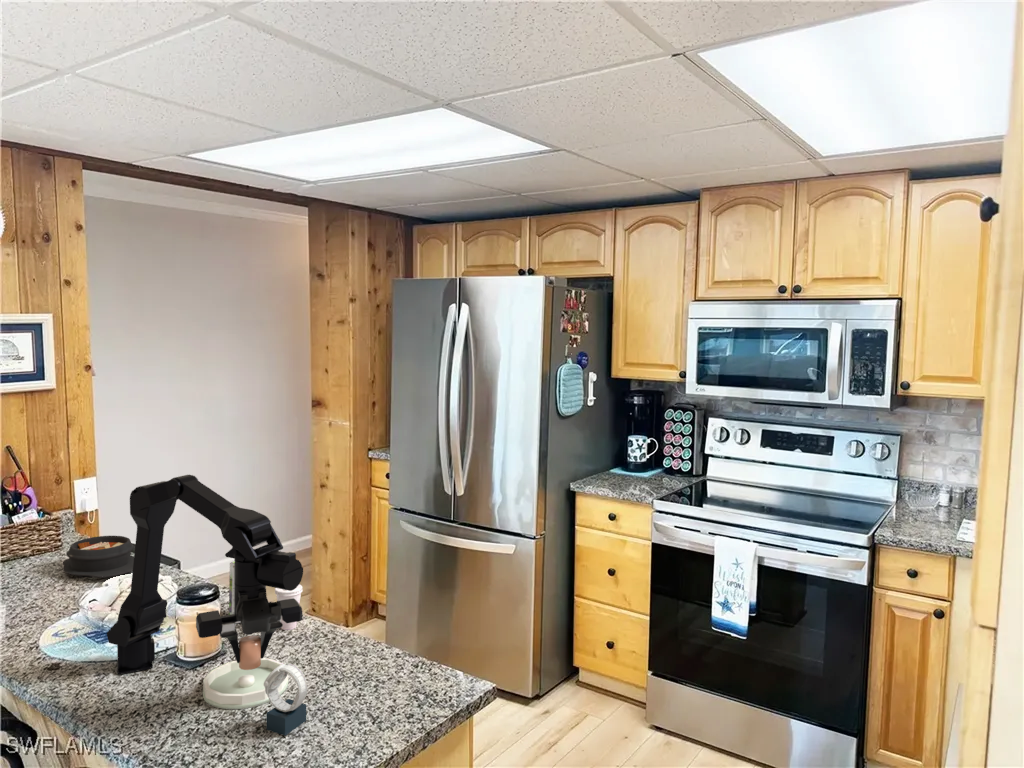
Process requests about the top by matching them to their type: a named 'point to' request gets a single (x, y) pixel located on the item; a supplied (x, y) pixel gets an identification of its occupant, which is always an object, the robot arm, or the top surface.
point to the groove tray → (239, 685)
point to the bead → (250, 652)
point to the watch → (288, 711)
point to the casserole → (100, 557)
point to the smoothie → (287, 594)
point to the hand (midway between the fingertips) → (249, 660)
